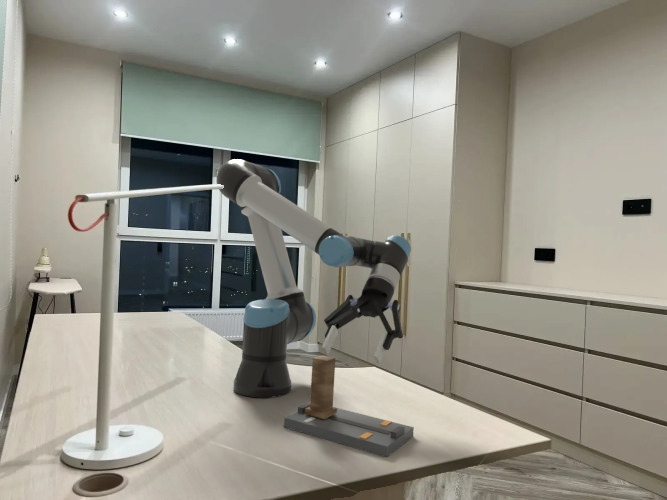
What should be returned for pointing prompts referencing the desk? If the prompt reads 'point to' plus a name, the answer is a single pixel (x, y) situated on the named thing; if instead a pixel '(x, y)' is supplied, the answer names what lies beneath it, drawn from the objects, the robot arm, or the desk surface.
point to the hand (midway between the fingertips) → (350, 355)
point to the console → (352, 430)
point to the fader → (322, 388)
